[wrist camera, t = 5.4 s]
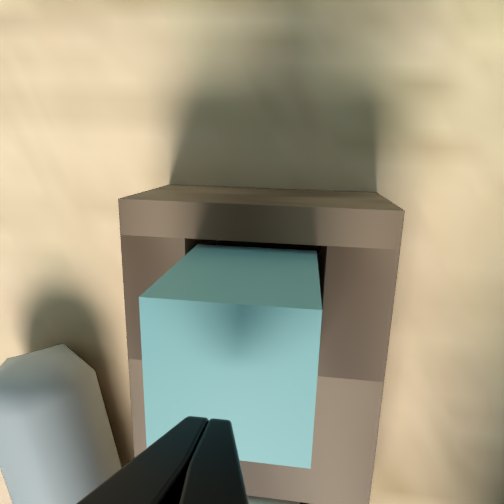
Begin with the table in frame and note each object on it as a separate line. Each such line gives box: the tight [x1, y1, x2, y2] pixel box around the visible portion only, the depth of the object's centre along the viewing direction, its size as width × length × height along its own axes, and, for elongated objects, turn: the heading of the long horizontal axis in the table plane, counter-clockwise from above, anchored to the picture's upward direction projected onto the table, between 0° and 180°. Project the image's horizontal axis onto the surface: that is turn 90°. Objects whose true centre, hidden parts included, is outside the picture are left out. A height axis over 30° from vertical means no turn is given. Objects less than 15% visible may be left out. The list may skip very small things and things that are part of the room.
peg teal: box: [139, 244, 322, 469], centre depth 12 cm, size 4×4×5 cm
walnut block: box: [118, 185, 405, 504], centre depth 17 cm, size 9×17×5 cm, turn 178°
